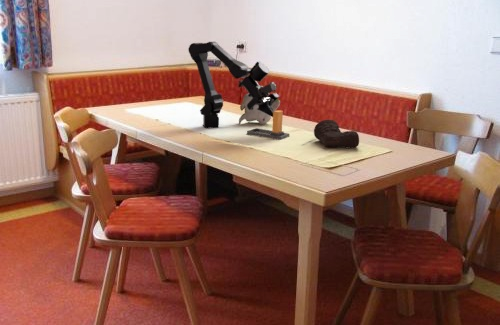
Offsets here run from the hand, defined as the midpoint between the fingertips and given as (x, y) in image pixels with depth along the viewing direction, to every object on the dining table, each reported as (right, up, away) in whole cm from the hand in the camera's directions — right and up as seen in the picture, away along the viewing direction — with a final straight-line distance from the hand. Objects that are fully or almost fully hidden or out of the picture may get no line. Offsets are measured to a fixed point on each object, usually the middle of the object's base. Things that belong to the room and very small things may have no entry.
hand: (274, 116), depth 207 cm
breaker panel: (-3, -8, +4) cm, 10 cm away
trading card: (+18, -22, -36) cm, 46 cm away
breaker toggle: (+1, -8, +2) cm, 9 cm away
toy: (-6, -2, +27) cm, 28 cm away
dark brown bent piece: (+25, -13, -6) cm, 29 cm away
